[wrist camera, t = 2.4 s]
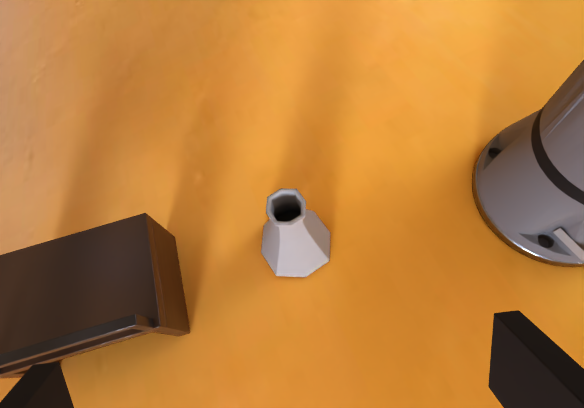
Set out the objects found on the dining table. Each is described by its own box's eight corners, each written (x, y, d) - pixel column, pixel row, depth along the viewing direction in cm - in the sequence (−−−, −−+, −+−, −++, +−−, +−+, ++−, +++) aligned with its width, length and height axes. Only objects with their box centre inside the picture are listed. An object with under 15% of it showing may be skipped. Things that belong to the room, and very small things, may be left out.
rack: (175, 236, 40) (129, 199, 31) (190, 332, 36) (143, 322, 27) (45, 274, 40) (-41, 248, 30) (46, 376, 36) (-51, 381, 27)
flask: (253, 221, 40) (231, 178, 31) (320, 202, 40) (317, 154, 31) (269, 287, 37) (250, 263, 28) (341, 267, 37) (345, 236, 28)
